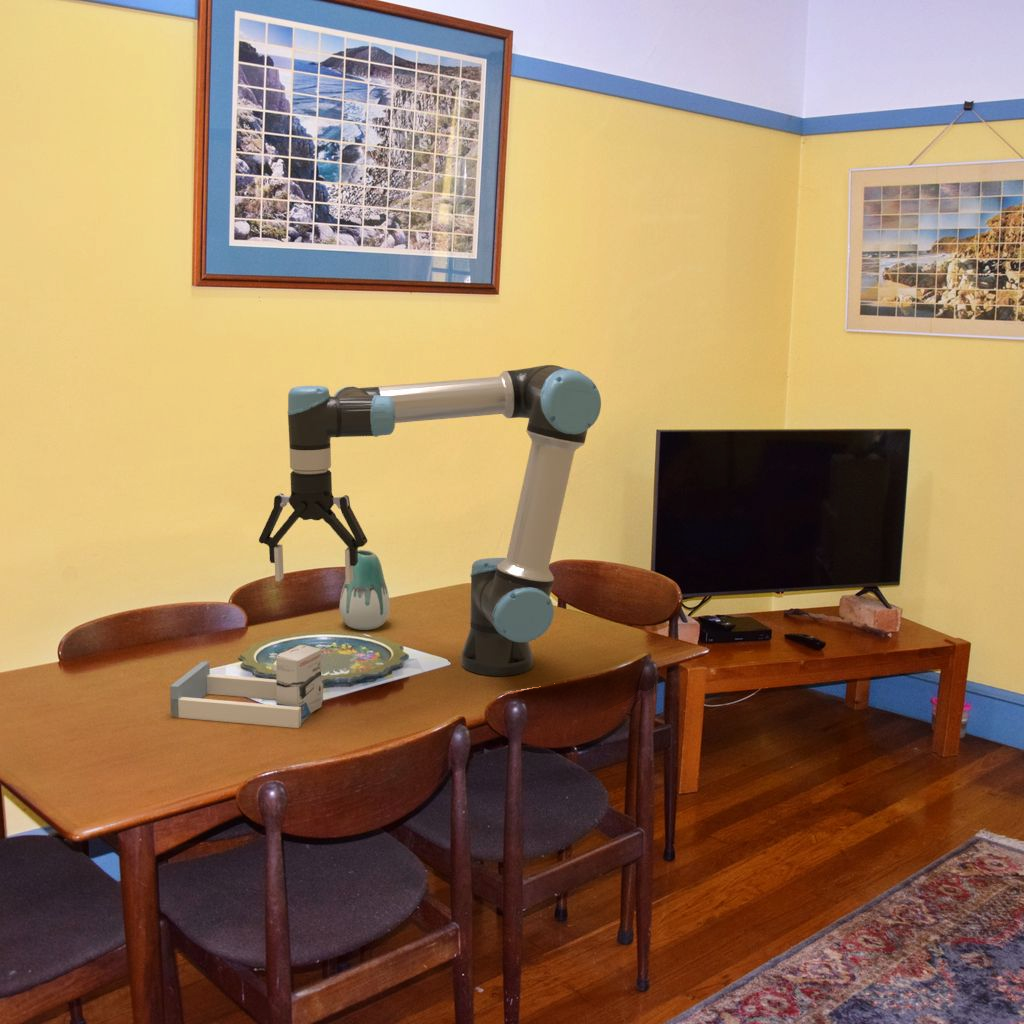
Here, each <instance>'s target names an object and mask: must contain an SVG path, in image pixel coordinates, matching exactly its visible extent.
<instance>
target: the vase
mask: <svg viewBox="0 0 1024 1024" xmlns="http://www.w3.org/2000/svg"><path fill="white" fill-rule="evenodd" d="M339 599H340V600H339V605H338V606H339V607H338V608H339V613H340V617H341V619H342V621H343V623H344V624H345V625H346V626H348V627H349V628H350V629H354V630H358V631H371V630H375V629H377V628H380V627H383V625H384V624H385V623H386V621H387V620H388V617H389V615H390V611H391V603H390V596H389V591H388V587H387V583H386V580H385V576H384V571H383V568H382V563H381V561H380V559H379V557H378V555H377V554H376V553H374V552H373V551H372V550H367V549H366V550H365V549H358V563H357V565H356V566H353V581H352V582H351V583H350V584H346V577H345V579H344V583H343V586H342V589H341V593H340V598H339Z"/></svg>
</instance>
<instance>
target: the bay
mask: <svg viewBox="0 0 1024 1024" xmlns="http://www.w3.org/2000/svg"><path fill="white" fill-rule="evenodd" d="M210 665H211V663H210V661H205V660H204V661H203V660H202V661H201V662H200V663H198V664H197V665H196V666H193V668H191V669H190V670H189V671H188V672H186V673H185V674H184V675H182V676H181V677H180V678H178V679H177V680H176V681H175V682H174V683H172V684H171V685H169V686H170V687H169V691H170V692H169V694H170V695H169V696H170V717H171V718H179V719H180V718H181V719H190V720H201V721H202V720H203V721H210V722H211V721H212V722H213V721H214V722H224V723H237V724H246V725H247V724H248V725H249V724H250V725H256V726H257V725H260V726H268V727H269V726H270V727H280V728H293V729H299V728H301V726H302V724H301V707H294V706H282V705H277V704H269V703H268V704H267V703H258V702H247V701H245V702H244V701H235V700H221V699H210V698H204V697H205V696H206V695H207V694H208V695H218V696H228V697H229V696H230V697H241V698H253V699H254V698H255V699H263V700H264V699H265V700H275V701H277V687H276V686H277V681H276V679H274V678H273V679H271V678H263V677H262V678H261V677H249V676H240V675H239V676H236V675H226V674H215V673H214V674H213V673H211V670H210ZM323 701H324V683H322V703H323Z"/></svg>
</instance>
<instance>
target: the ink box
mask: <svg viewBox="0 0 1024 1024" xmlns="http://www.w3.org/2000/svg"><path fill="white" fill-rule="evenodd" d="M322 652H323V651H322V648H319V647H315V646H311V645H305V644H299V645H297V646H294V647H292V648H290V649H288V650H286V651H283V652H280V653H279V654H277V656H276V659H275V660H276V662H275V663H276V664H275V665H276V672H275V673H276V674H275V675H276V676H275V678H276V679H275V680H276V681H277V686H276V687H277V700H276V705H282V706H294V707H301V718H303V717H305V716H306V715H308V714H310V713H312V712H313V711H314V712H315V711H316V710H319V709H320V708H322V704H323V702H322V681H323V678H322V677H323V676H322V674H323V673H322V671H323V670H322V666H323V664H322V660H323V659H322V658H323V655H322ZM314 712H313V713H314ZM313 713H312V714H313Z"/></svg>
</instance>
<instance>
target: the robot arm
mask: <svg viewBox="0 0 1024 1024" xmlns="http://www.w3.org/2000/svg"><path fill="white" fill-rule="evenodd" d="M287 396H288V397H287V399H288V400H287V422H288V423H287V424H288V442H289V468H290V469H291V470H292V471H291V472H290V495H284V493H278V494H277V495H275V497H274V498H273V507H272V510H271V511H270V514H269V517H268V519H267V521H266V522H265V525H264V527H263V530H262V532H261V533H260V536H259V538H258V543H260V544H264V545H266V546H268V548H269V549H268V551H269V552H268V553H269V562H270V564H274V576H275V577H274V579H275V582H280V581H282V580H283V579H284V577H285V576H284V551H283V550H284V548H283V544H280V541H281V540H282V539H283V538H284V537H285V535H286V534H287V533H288V531H289V530H290V529H291V528H292V527H293V525H294V524H295V523H296V522H297V521H298V519H301V520H302V521H308V520H313V521H320V520H323V521H324V522H325V523H326V524H327V525H329V526H330V528H331V529H332V530H333V531H334V533H335V534H336V535H337V536H338V537H339V538H340V540H341V541H342V542H343V543H344V544H345V545H346V546H347V548H345V549H344V562H345V563H344V565H345V569H344V570H345V572H344V573H345V578H346V584H350V583H351V582H352V581H353V566H356V565H357V563H358V550H359V548H362V547H364V546H365V545H366V544H367V543H368V538H367V536H366V534H365V533H364V530H363V529H362V527H361V525H360V523H359V521H358V519H357V517H356V515H355V513H354V511H353V509H352V507H351V504H350V503H351V502H350V497H349V495H347V494H346V495H343V496H339V497H334V494H333V489H332V488H333V486H332V480H333V479H332V472H331V470H329V469H330V468H331V467H332V456H331V455H332V453H331V452H332V451H331V439H332V438H344V437H345V438H346V437H347V438H348V437H352V438H353V437H354V438H355V437H356V438H357V437H374V438H375V437H376V438H378V437H379V436H390V435H392V433H394V430H395V428H396V424H401V423H412V422H422V421H423V422H424V421H432V420H433V421H435V420H444V419H445V420H447V419H458V418H468V417H469V418H471V417H472V418H473V417H482V416H493V415H503V416H504V417H505V418H506V419H515V418H520V419H522V418H523V419H528V421H527V423H528V424H527V427H526V433H527V435H528V436H529V438H530V440H531V444H530V449H529V454H528V458H527V462H526V463H527V464H526V468H525V473H524V477H523V482H522V486H521V490H520V495H519V500H518V504H517V508H516V513H515V518H514V522H513V526H512V527H513V528H512V531H511V535H510V540H509V545H508V550H507V555H506V557H489V558H488V557H487V558H481V559H477V560H475V561H473V563H472V566H471V573H470V623H469V624H470V626H469V627H470V629H469V632H468V634H467V638H466V641H465V643H464V647H463V649H462V652H461V666H462V668H464V669H465V670H466V671H469V672H470V673H471V672H472V673H474V674H478V675H484V676H493V677H497V676H498V677H504V676H516V675H519V674H524V673H525V672H528V671H529V670H531V669H532V667H533V661H534V659H533V657H534V656H533V652H532V649H531V645H530V642H532V641H535V640H536V639H539V638H540V637H541V636H543V635H544V634H545V633H546V632H548V630H549V628H550V627H551V625H552V623H553V619H554V614H555V612H554V611H555V610H554V603H553V602H552V599H551V593H552V588H553V583H554V580H555V577H554V576H553V573H552V572H551V570H550V567H549V566H550V564H551V558H552V553H553V549H554V545H555V541H556V537H557V531H558V527H559V523H560V518H561V513H562V508H563V506H564V501H565V497H566V491H567V487H568V483H569V478H570V474H571V469H572V465H573V461H574V460H573V459H574V456H575V452H576V450H578V449H579V448H581V447H582V446H584V445H585V443H586V439H587V434H588V431H589V429H591V428H592V426H593V425H594V424H595V423H596V421H597V420H598V418H599V416H600V412H601V410H602V409H601V407H602V399H601V394H600V391H599V389H598V386H597V385H596V383H594V381H593V380H592V379H591V378H590V377H589V376H587V375H585V374H584V373H583V372H581V371H579V370H576V369H574V368H573V369H571V368H565V367H562V366H560V365H556V364H554V365H553V364H545V365H538V366H533V367H526V368H520V369H513V370H503V371H502V372H501V373H500V374H499V375H498V376H493V377H492V376H491V377H490V376H489V377H477V378H476V377H475V378H467V379H455V380H453V379H452V380H442V381H441V380H439V381H428V382H417V383H414V382H413V383H405V384H402V383H401V384H393V385H392V384H391V385H380V386H379V385H378V386H368V387H356V386H345V387H342V388H340V389H339V390H337V391H336V392H335V393H334V395H331V394H330V391H329V388H328V387H327V386H323V385H300V386H294V387H292V388H291V389H290V390H289V391H288V395H287ZM288 503H289V505H290V506H291V508H292V509H293V512H292V513H291V514H290V515H289V516H288V518H287V519H286V520H285V522H283V524H282V525H281V527H280V528H279V529H278V530H277V531H276V533H275V534H274V535H273V536H272V537H271V535H272V533H273V531H274V529H275V527H276V524H277V522H278V520H279V518H280V516H281V513H282V512H283V510H284V509H283V508H284V507H286V506H287V505H288ZM334 505H336V507H337V508H338V509H340V512H341V515H342V517H343V519H344V520H345V522H346V524H347V526H348V527H349V529H350V531H349V530H348V529H347V527H345V525H344V524H343V523H342V522H341V520H340V519H339V518H338V517H337V516H336V514H335V512H334V511H333V510H332V507H333V506H334Z"/></svg>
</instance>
